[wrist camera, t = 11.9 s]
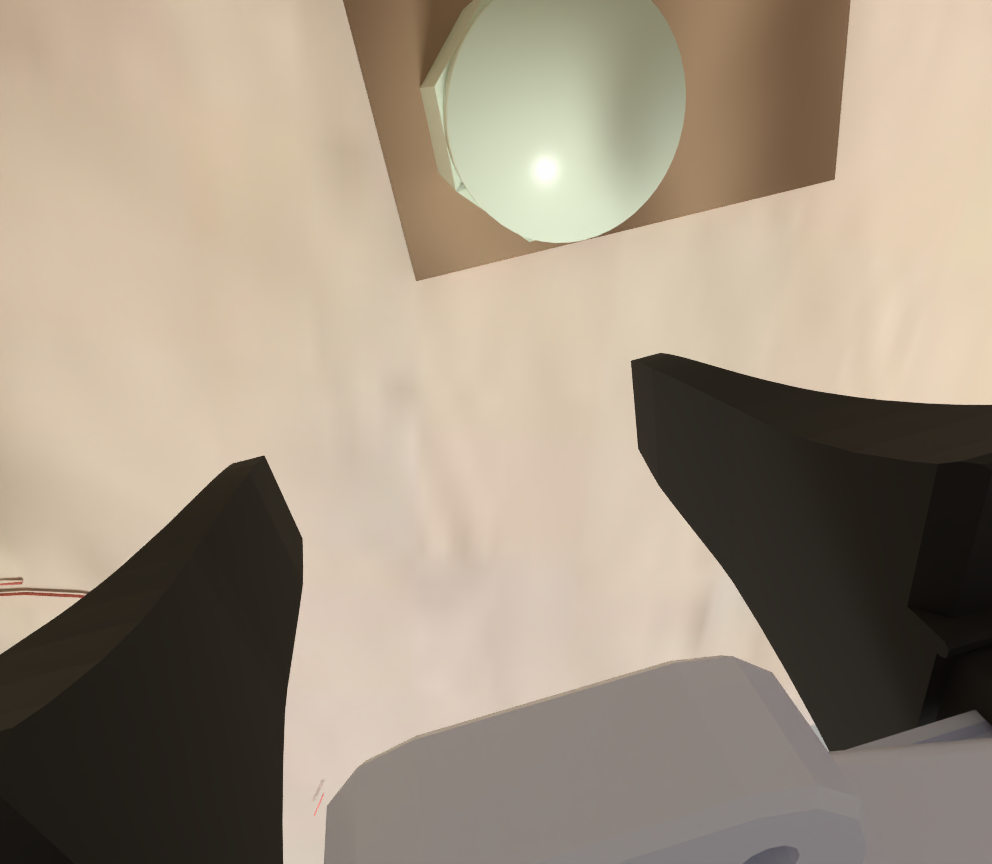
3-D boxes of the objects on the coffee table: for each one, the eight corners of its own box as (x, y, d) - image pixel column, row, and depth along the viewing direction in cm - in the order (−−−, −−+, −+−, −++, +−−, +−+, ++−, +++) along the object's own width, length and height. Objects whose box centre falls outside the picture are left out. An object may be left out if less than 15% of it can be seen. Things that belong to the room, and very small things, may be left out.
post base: (844, -233, 16) (978, -325, 12) (815, 175, 21) (904, 192, 17) (309, -129, 15) (293, -196, 11) (414, 272, 20) (424, 310, 16)
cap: (405, 21, 16) (420, -6, 12) (597, -19, 16) (682, -60, 12) (449, 226, 18) (476, 266, 14) (614, 187, 19) (688, 215, 14)
